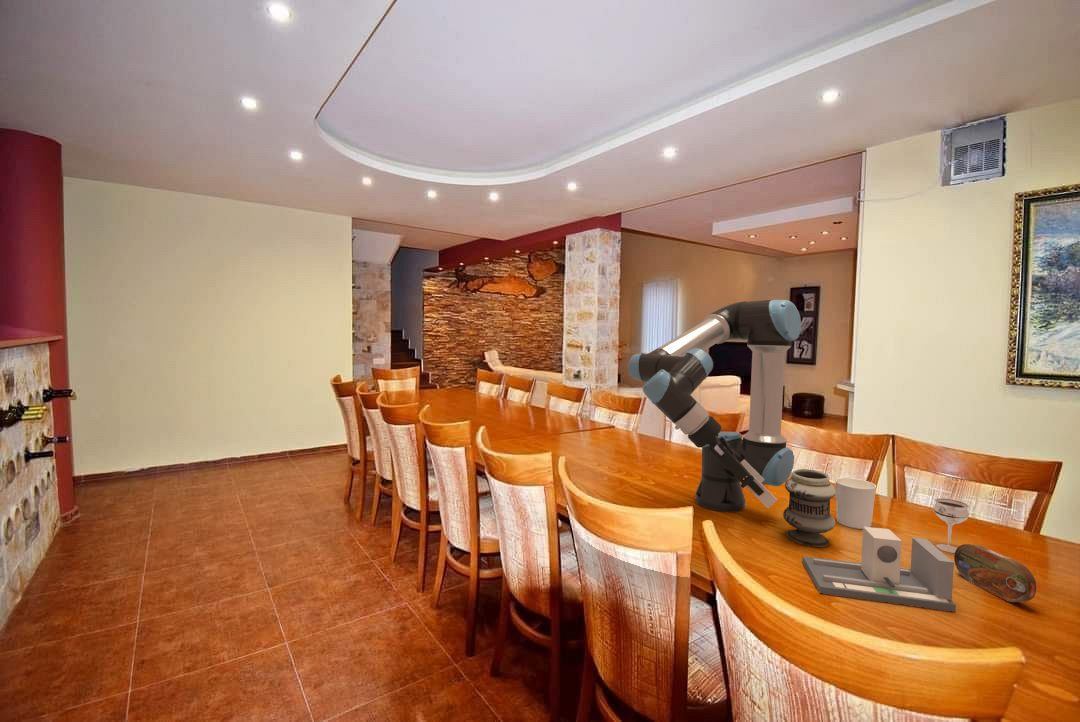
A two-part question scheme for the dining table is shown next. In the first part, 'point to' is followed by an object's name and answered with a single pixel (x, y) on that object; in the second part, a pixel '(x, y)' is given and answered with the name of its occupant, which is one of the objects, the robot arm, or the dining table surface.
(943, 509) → the wineglass
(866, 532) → the gauge carriage
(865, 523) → the candle holder
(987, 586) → the tin
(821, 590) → the gauge bed
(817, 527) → the apothecary jar
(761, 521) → the dining table surface
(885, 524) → the dining table surface
